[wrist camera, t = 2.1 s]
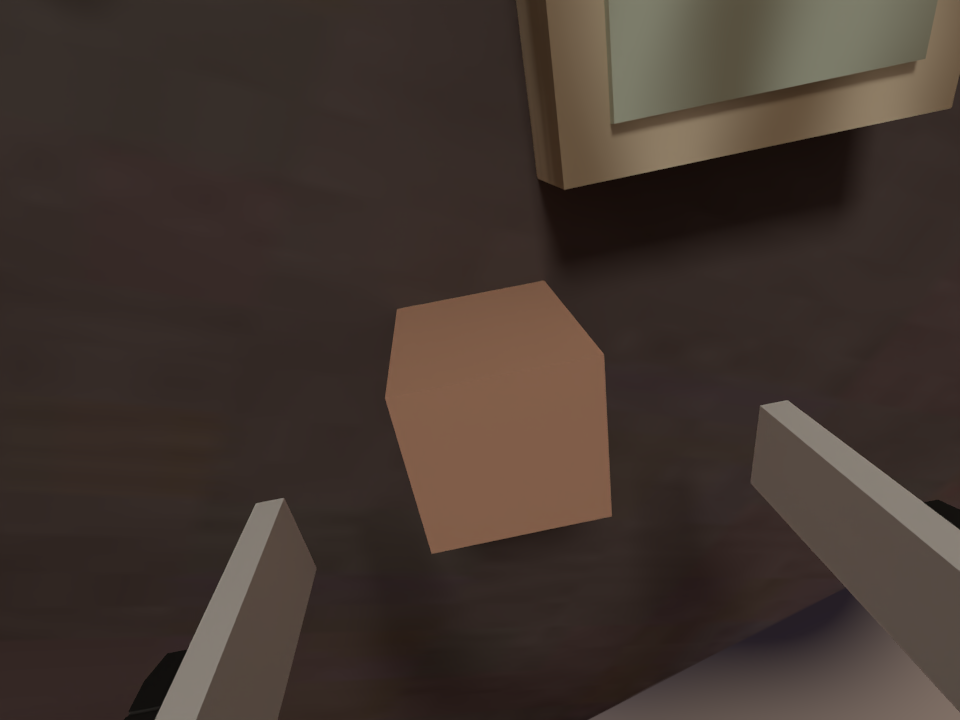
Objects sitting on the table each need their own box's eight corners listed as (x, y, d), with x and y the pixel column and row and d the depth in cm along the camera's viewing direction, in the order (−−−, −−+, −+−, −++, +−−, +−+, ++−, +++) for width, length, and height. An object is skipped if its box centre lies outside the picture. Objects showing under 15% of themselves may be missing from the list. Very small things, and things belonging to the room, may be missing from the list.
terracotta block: (428, 430, 21) (431, 553, 15) (397, 308, 19) (385, 397, 13) (557, 404, 22) (611, 516, 15) (544, 280, 19) (603, 354, 13)
